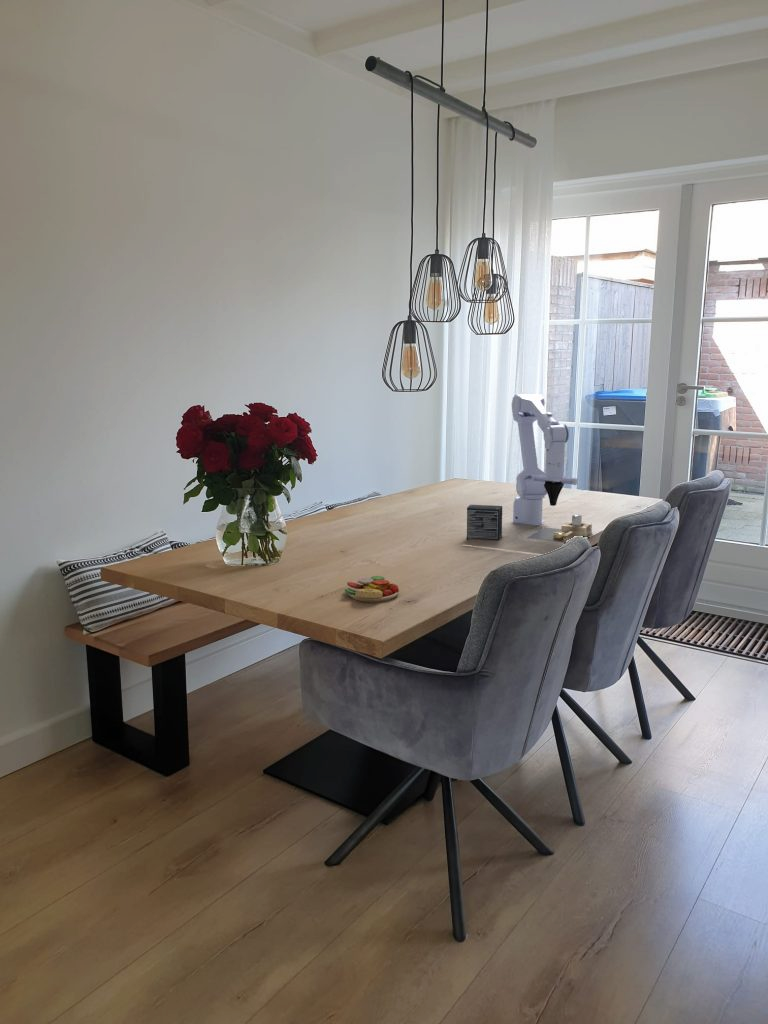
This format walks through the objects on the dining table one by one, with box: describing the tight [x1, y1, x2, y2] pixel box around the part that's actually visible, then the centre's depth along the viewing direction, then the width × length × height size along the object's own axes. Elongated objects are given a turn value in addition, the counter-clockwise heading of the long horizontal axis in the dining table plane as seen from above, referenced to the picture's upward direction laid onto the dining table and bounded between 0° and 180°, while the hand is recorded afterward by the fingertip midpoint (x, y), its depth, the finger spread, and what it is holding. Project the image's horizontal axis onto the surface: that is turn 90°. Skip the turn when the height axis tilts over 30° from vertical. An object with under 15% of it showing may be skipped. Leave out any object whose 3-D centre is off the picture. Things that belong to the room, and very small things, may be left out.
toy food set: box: [344, 575, 400, 603], centre depth 201 cm, size 13×13×3 cm
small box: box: [466, 504, 503, 541], centre depth 258 cm, size 11×6×10 cm, turn 74°
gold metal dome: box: [553, 532, 566, 540], centre depth 256 cm, size 4×4×2 cm
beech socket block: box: [560, 520, 593, 537], centre depth 263 cm, size 8×8×3 cm
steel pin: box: [571, 514, 583, 526], centre depth 262 cm, size 3×3×6 cm
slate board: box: [526, 527, 574, 543], centre depth 261 cm, size 15×17×1 cm
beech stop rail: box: [562, 531, 573, 543], centre depth 254 cm, size 1×6×2 cm, turn 150°
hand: (553, 505), depth 262 cm, fingers closed
